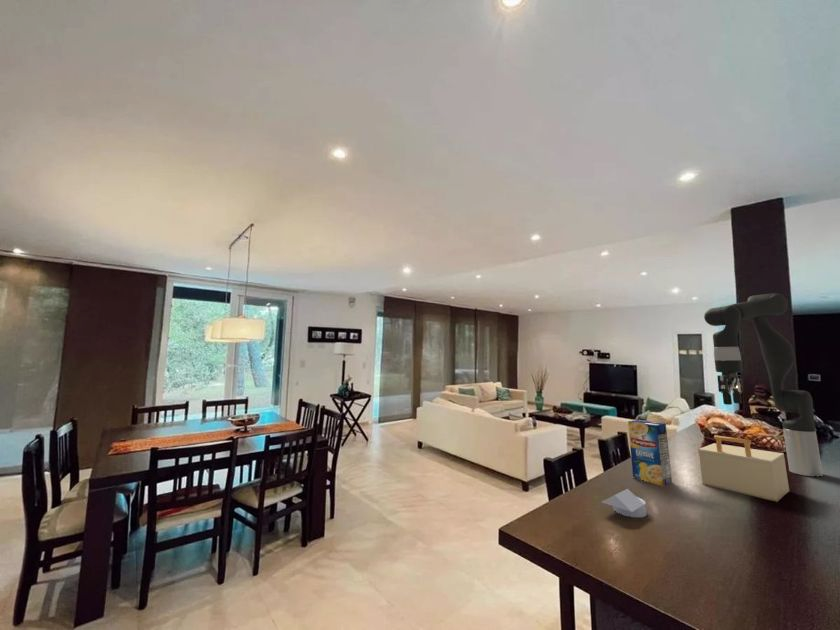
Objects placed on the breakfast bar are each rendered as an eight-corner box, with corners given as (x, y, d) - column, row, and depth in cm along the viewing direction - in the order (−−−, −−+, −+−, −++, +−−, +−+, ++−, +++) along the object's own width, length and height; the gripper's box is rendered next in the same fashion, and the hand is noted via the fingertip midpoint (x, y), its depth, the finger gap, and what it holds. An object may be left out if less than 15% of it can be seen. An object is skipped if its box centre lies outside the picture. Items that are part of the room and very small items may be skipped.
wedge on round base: (633, 524, 101) (651, 512, 108) (630, 499, 101) (649, 489, 109) (601, 513, 108) (621, 503, 115) (599, 490, 109) (619, 481, 116)
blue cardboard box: (663, 486, 130) (656, 425, 133) (632, 478, 139) (627, 421, 142) (672, 482, 133) (666, 423, 136) (642, 475, 143) (637, 419, 146)
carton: (718, 476, 140) (714, 445, 141) (789, 491, 123) (784, 456, 125) (702, 484, 131) (698, 451, 133) (776, 501, 114) (771, 463, 116)
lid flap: (714, 445, 141) (712, 428, 142) (784, 455, 125) (781, 437, 126) (698, 451, 133) (696, 433, 133) (771, 463, 116) (768, 443, 117)
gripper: (723, 359, 137) (728, 402, 135) (706, 359, 130) (711, 403, 128) (748, 359, 130) (754, 404, 128) (732, 359, 123) (737, 405, 121)
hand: (732, 403), depth 128 cm, fingers open, 8 cm apart
